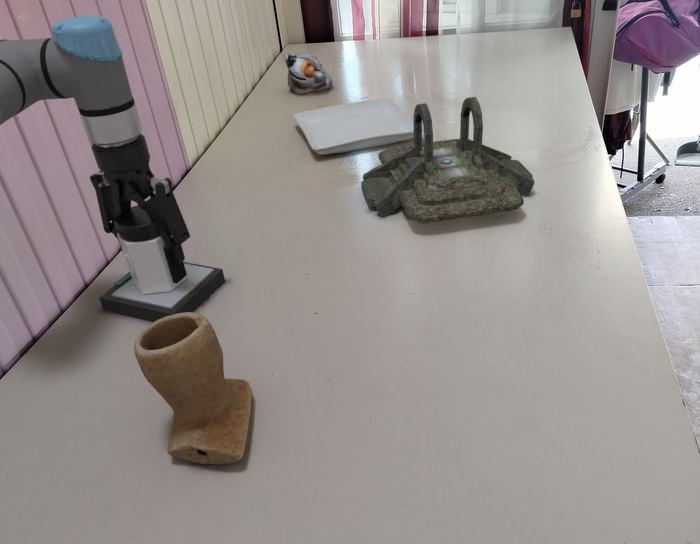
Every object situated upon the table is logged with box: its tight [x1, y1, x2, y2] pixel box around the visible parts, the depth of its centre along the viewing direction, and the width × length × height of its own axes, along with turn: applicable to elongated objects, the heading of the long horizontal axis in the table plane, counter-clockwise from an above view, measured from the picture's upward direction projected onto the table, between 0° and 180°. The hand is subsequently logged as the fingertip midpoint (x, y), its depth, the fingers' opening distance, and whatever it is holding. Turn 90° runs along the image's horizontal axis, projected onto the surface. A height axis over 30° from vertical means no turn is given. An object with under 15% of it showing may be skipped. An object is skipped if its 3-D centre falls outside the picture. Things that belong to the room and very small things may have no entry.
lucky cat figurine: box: [283, 52, 333, 95], centre depth 189 cm, size 15×12×14 cm
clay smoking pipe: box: [133, 311, 253, 465], centre depth 77 cm, size 15×12×15 cm
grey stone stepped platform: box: [360, 96, 535, 225], centre depth 125 cm, size 35×34×18 cm
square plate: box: [291, 97, 424, 155], centre depth 159 cm, size 27×27×4 cm
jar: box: [114, 204, 187, 294], centre depth 102 cm, size 9×8×12 cm
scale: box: [98, 261, 226, 323], centre depth 106 cm, size 15×14×3 cm
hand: (159, 274), depth 105 cm, fingers closed on jar, 8 cm apart
